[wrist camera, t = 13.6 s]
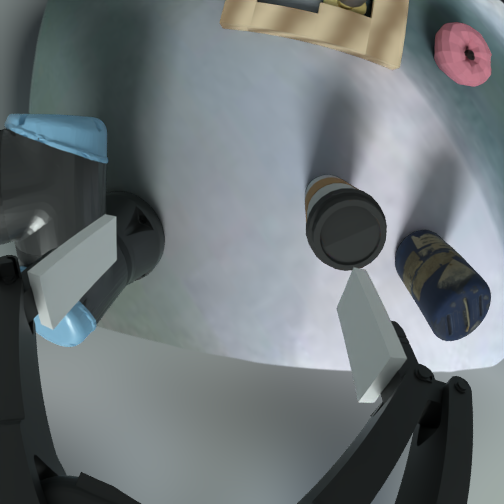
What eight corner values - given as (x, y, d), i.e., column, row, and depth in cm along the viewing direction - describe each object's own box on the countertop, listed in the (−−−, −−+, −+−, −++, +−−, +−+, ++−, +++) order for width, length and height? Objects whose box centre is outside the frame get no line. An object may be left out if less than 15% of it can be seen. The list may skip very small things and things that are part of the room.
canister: (440, 221, 39) (504, 276, 23) (440, 270, 43) (490, 335, 27) (389, 234, 41) (441, 300, 25) (393, 284, 45) (433, 359, 29)
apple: (462, 95, 30) (501, 95, 21) (417, 76, 30) (453, 68, 21) (464, 44, 26) (501, 35, 17) (420, 23, 26) (452, 5, 17)
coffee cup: (287, 181, 39) (293, 216, 26) (341, 157, 37) (376, 179, 24) (311, 232, 42) (326, 287, 29) (362, 210, 40) (400, 255, 26)
